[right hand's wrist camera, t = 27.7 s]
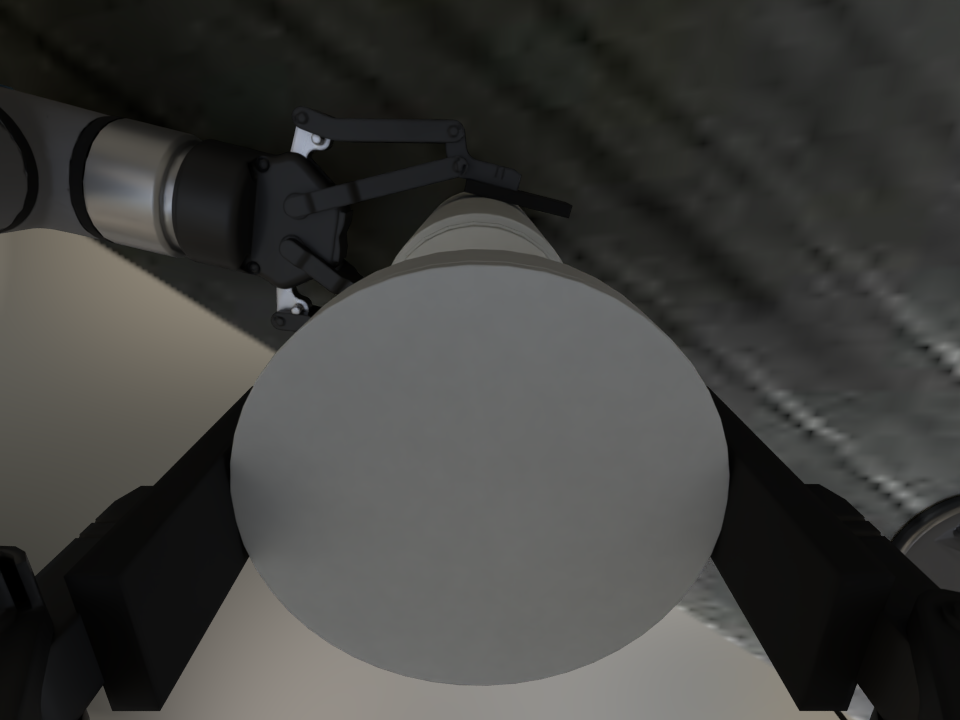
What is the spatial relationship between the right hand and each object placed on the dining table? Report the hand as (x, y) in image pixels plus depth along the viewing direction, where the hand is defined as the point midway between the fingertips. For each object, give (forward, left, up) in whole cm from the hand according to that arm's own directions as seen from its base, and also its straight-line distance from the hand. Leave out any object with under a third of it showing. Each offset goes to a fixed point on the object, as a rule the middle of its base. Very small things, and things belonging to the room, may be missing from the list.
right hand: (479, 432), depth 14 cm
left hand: (0, -4, -22) cm, 22 cm away
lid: (0, 0, +3) cm, 3 cm away
